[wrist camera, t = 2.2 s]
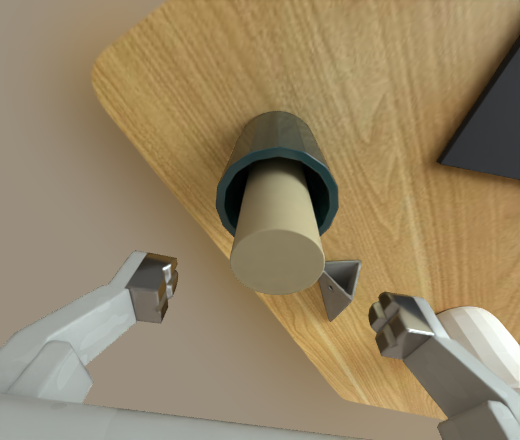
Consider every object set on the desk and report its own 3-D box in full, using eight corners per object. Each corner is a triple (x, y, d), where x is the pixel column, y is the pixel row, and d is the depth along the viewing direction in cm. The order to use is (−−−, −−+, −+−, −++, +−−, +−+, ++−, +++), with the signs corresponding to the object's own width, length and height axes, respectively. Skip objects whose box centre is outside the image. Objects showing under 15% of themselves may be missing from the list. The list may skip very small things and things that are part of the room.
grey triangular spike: (367, 319, 35) (382, 276, 25) (343, 338, 34) (350, 301, 24) (338, 290, 38) (342, 243, 29) (316, 306, 37) (313, 263, 28)
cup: (451, 297, 31) (512, 381, 23) (514, 312, 32) (592, 396, 24) (407, 332, 36) (444, 410, 29) (462, 344, 38) (512, 421, 30)
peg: (257, 127, 19) (235, 220, 8) (304, 136, 19) (340, 238, 9) (249, 171, 21) (225, 288, 11) (292, 179, 22) (308, 301, 11)
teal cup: (242, 102, 18) (220, 135, 11) (326, 120, 19) (360, 162, 12) (232, 181, 22) (212, 242, 15) (302, 193, 23) (315, 259, 16)
